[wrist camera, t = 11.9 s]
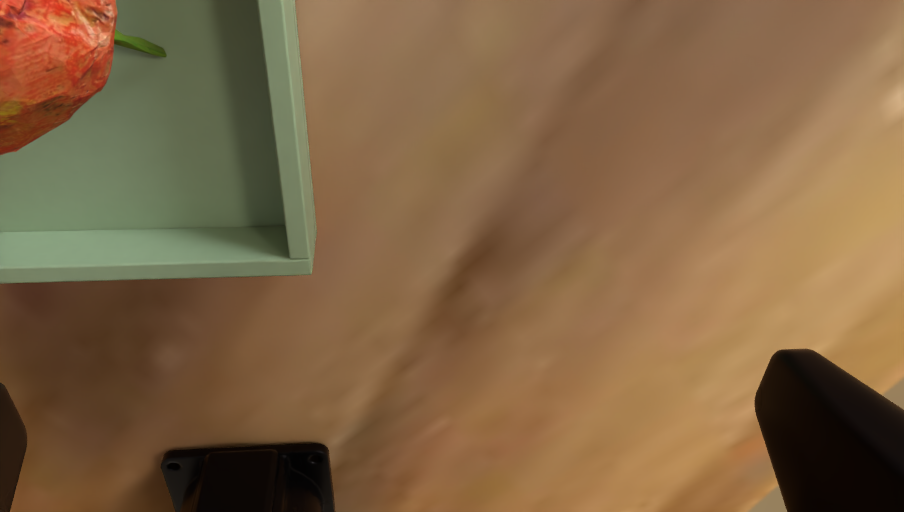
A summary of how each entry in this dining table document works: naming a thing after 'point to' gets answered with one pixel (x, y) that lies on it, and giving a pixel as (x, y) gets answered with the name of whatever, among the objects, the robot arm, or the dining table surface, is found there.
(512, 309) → the dining table surface
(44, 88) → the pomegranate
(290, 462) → the robot arm
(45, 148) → the tray
